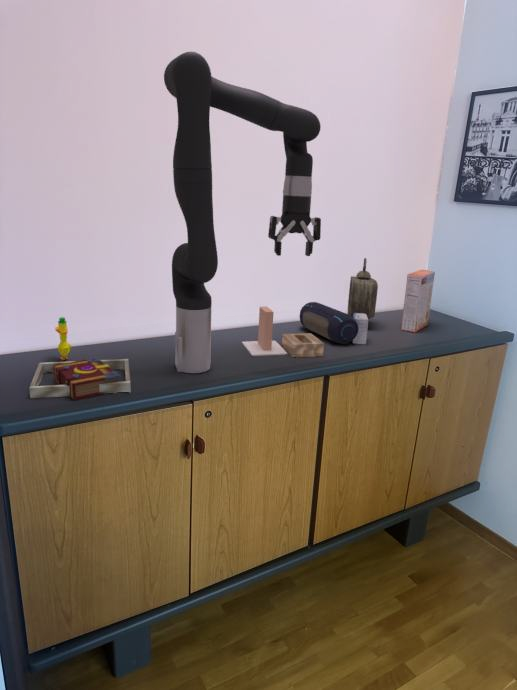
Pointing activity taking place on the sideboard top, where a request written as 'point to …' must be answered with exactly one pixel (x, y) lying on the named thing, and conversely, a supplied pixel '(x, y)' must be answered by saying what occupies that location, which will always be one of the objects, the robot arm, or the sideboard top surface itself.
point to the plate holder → (302, 345)
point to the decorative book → (84, 377)
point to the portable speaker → (328, 322)
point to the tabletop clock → (362, 294)
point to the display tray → (64, 390)
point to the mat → (258, 351)
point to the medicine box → (361, 328)
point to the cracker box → (417, 300)
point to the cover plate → (265, 328)
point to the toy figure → (63, 338)
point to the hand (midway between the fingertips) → (293, 255)
